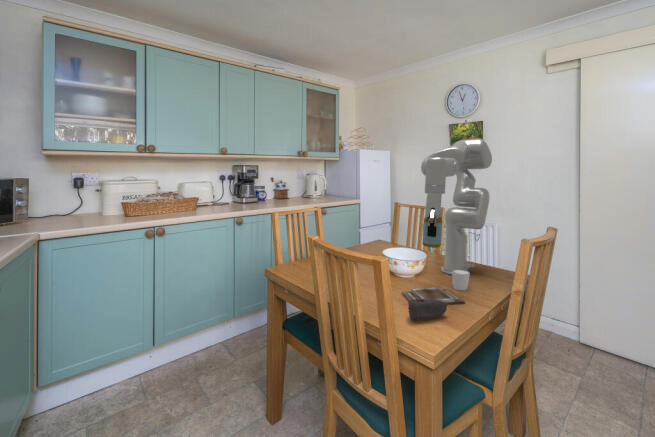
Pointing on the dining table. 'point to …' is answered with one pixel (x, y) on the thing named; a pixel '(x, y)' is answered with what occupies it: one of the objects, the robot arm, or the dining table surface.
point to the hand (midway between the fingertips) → (432, 234)
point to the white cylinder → (460, 279)
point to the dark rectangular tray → (434, 295)
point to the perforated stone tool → (426, 309)
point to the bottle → (436, 240)
